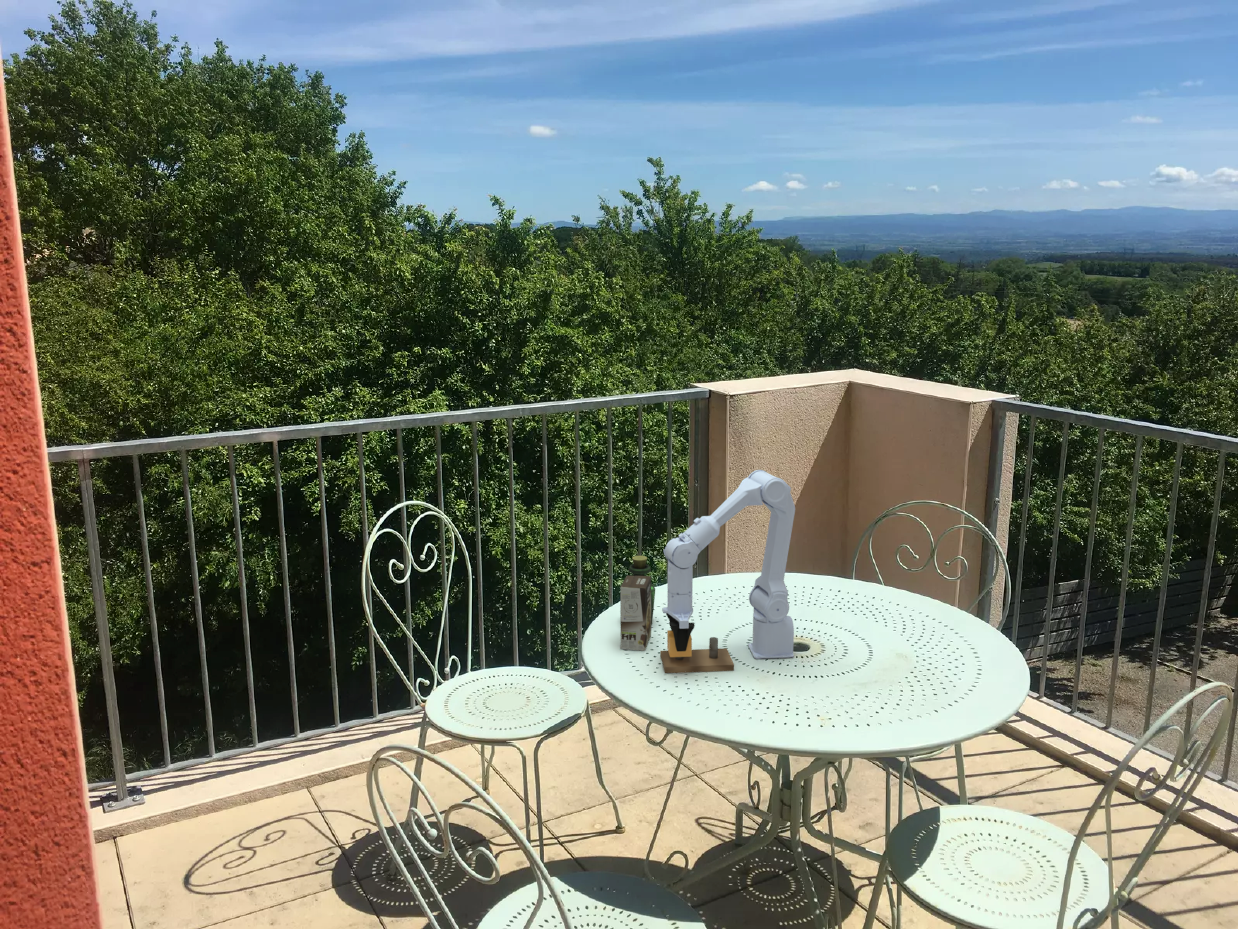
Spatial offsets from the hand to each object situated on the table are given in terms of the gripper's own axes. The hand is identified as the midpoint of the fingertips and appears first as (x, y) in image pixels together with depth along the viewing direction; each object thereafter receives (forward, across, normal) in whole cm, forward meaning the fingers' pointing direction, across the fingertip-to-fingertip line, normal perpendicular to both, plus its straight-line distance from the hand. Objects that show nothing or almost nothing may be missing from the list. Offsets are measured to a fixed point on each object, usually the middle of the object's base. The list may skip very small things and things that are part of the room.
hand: (679, 645), depth 205 cm
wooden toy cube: (+2, 0, 0) cm, 2 cm away
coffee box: (+5, -13, -9) cm, 17 cm away
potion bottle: (+5, -25, -7) cm, 26 cm away
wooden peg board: (+5, 0, +4) cm, 6 cm away
